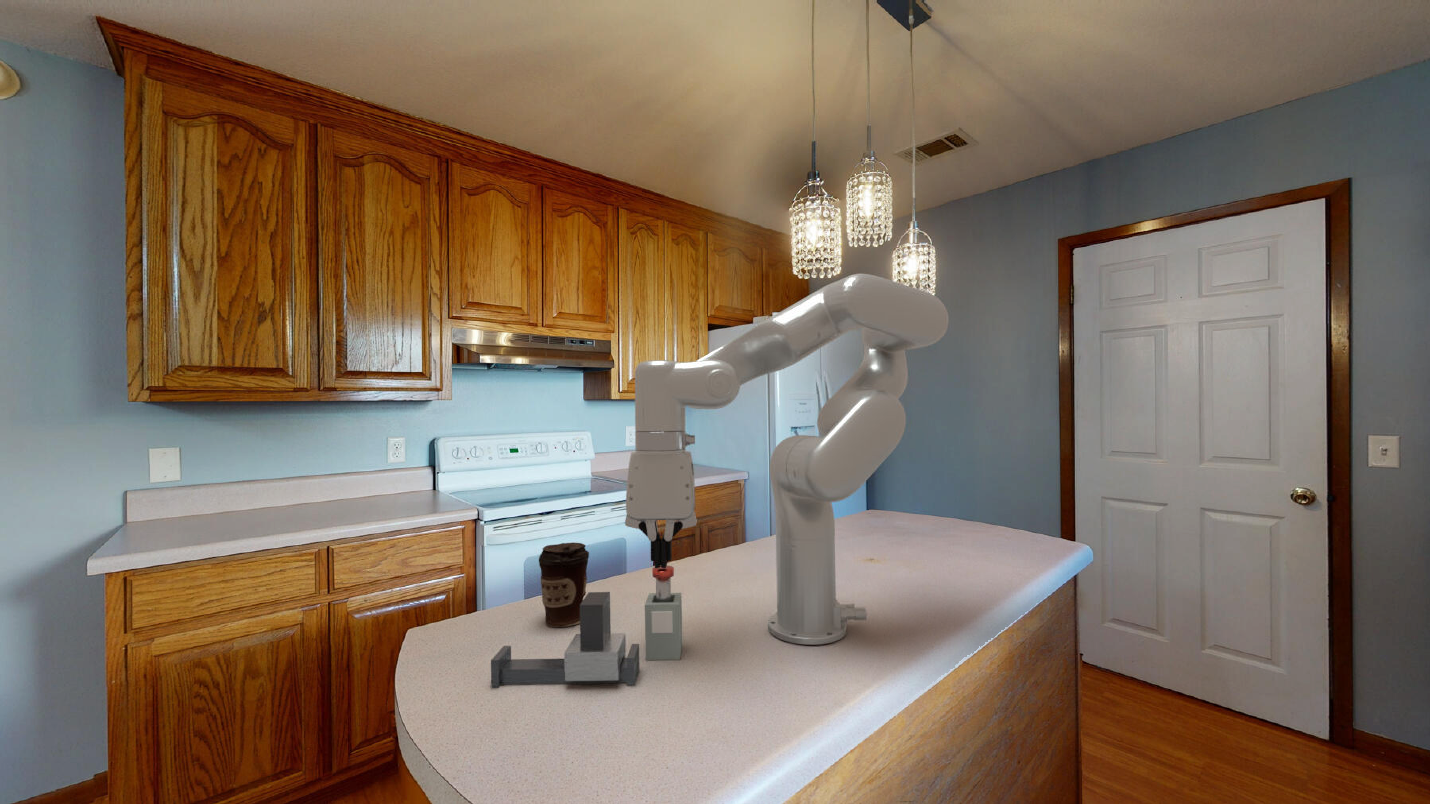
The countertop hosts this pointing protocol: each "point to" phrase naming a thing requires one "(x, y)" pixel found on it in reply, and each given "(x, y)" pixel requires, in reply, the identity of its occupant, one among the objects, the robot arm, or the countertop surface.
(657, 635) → the grey square housing
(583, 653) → the carriage
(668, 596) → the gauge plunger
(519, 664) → the rail
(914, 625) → the countertop surface
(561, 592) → the coffee cup
